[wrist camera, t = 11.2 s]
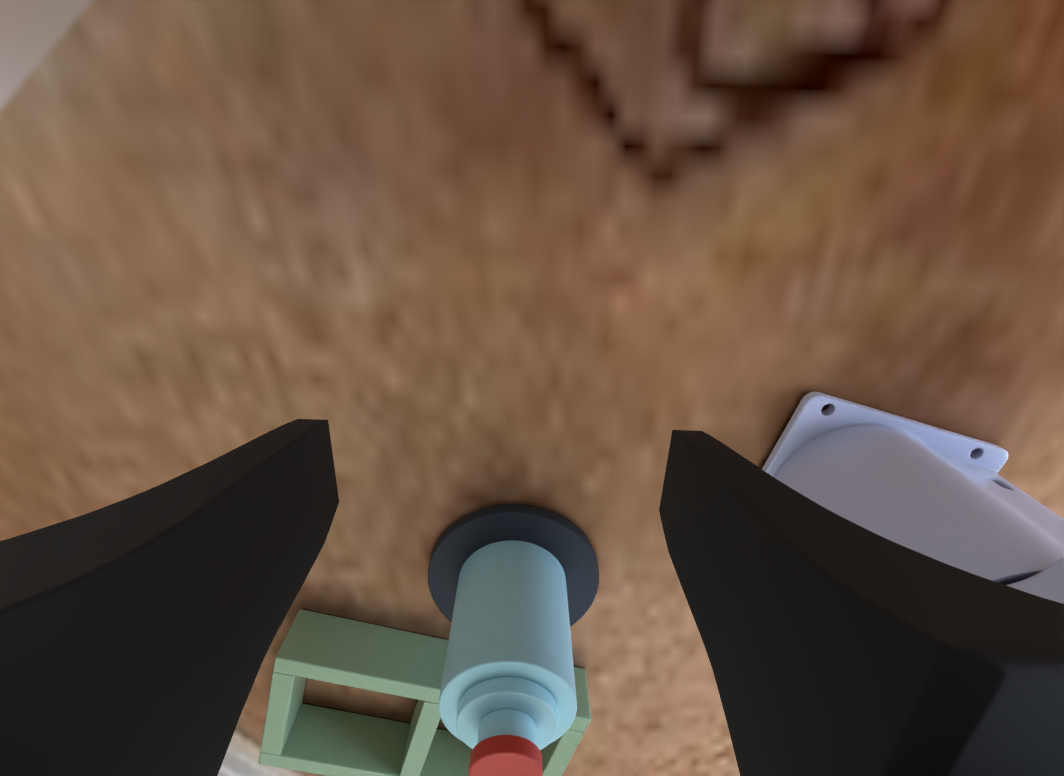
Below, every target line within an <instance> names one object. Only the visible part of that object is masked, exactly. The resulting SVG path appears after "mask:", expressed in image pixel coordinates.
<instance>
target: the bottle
mask: <svg viewBox="0 0 1064 776" xmlns="http://www.w3.org/2000/svg"><path fill="white" fill-rule="evenodd" d="M576 711H577V699H576V688H575V677H574V665H573V654H572V643H571V632H570V621H569V609H568V598H567V587H566V578H565V573H564V570H563V568H562V566H561V564H560V563H559V561H558V560H557V559H556V558H555V557H554V556H553V555H552V554H551V553H550V552H548V551H547V550H545V549H544V548H542V547H540V546H538V545H535V544H532V543H529V542H524V541H515V540H509V541H499V542H495V543H491V544H489V545H486V546H484V547H482V548H480V549H478V550H477V551H475V552H474V553H473V554H472V555H471V556H470V557H469V558H468V559H467V560H466V561H465V563H464V564H463V566H462V568H461V571H460V574H459V579H458V586H457V592H456V598H455V604H454V610H453V616H452V623H451V629H450V635H449V641H448V647H447V654H446V660H445V666H444V672H443V678H442V684H441V691H440V697H439V713H440V717H441V719H442V721H443V723H444V725H445V727H446V728H447V729H448V730H449V731H450V732H451V733H452V734H453V735H454V736H455V737H456V738H458V739H459V740H461V741H463V742H464V743H465V744H466V745H467V746H469V747H470V748H472V749H473V750H472V752H471V754H470V762H469V772H468V774H469V776H542V775H543V770H542V754H541V752H540V750H542V749H543V748H545V747H546V746H547V745H548V744H550V743H552V742H554V741H555V740H557V739H558V738H560V737H561V736H562V735H563V734H564V733H565V732H566V731H567V730H568V729H569V728H570V726H571V725H572V723H573V721H574V718H575V716H576Z"/></svg>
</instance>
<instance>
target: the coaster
mask: <svg viewBox="0 0 1064 776" xmlns="http://www.w3.org/2000/svg"><path fill="white" fill-rule="evenodd" d="M509 540H515V541H524V542H529V543H532V544H535V545H538V546H540V547H542V548H544V549H545V550H547V551H548V552H550V553H551V554H552V555H553V556H554V557H555V558H556V559H557V560H558V561H559V563H560V564H561V566H562V568H563V570H564V573H565V578H566V587H567V598H568V609H569V621H570V626H572V625H573V624H574V623H576V622H577V621H578V620H579V619H580V618H581V617H582V616H583V615H584V614H585V613H586V611H587V610H588V609H589V607H590V606H591V604H592V602H593V600H594V598H595V595H596V593H597V589H598V584H599V572H598V565H597V559H596V556H595V553H594V550H593V548H592V546H591V544H590V542H589V541H588V539H587V538H586V537H585V535H584V534H583V533H582V532H581V531H580V530H579V529H578V528H577V527H576V526H575V525H573V524H572V523H571V522H570V521H568V520H567V519H565V518H563V517H561V516H560V515H558V514H555V513H553V512H551V511H548V510H545V509H541V508H538V507H533V506H527V505H500V506H493V507H489V508H485V509H481V510H479V511H476V512H473V513H471V514H469V515H467V516H465V517H463V518H461V519H460V520H459V521H457V522H456V523H454V524H453V525H452V526H451V527H450V528H449V529H448V530H446V531H445V533H444V534H443V535H442V536H441V538H440V539H439V541H438V542H437V544H436V546H435V548H434V550H433V553H432V556H431V560H430V565H429V570H428V583H429V589H430V592H431V595H432V598H433V600H434V602H435V604H436V605H437V607H438V608H439V609H440V611H441V612H442V613H443V614H444V615H445V616H446V618H447V619H449V620H450V621H451V622H452V616H453V610H454V604H455V598H456V592H457V586H458V579H459V574H460V571H461V568H462V566H463V564H464V563H465V561H466V560H467V559H468V558H469V557H470V556H471V555H472V554H473V553H474V552H475V551H477V550H478V549H480V548H482V547H484V546H486V545H489V544H491V543H495V542H499V541H509Z"/></svg>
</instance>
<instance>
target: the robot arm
mask: <svg viewBox="0 0 1064 776" xmlns="http://www.w3.org/2000/svg"><path fill="white" fill-rule="evenodd" d="M827 404H830V405H829V407H828V408H827V410H825V411H821V410H822V408H823V407H824V405H827ZM974 449H975V450H974ZM973 450H974V451H973ZM972 451H973V452H972ZM971 452H972V453H971ZM1007 459H1008V452H1007V451H1006V450H1004V449H1003V448H1001V447H1000V446H998V445H995V444H991V443H988V442H985V441H981V440H978V439H975V438H971V437H968V436H965V435H961V434H958V433H955V432H951V431H948V430H945V429H941V428H938V427H934V426H931V425H928V424H924V423H921V422H918V421H914V420H911V419H908V418H904V417H901V416H898V415H894V414H891V413H888V412H884V411H881V410H878V409H874V408H871V407H868V406H864V405H861V404H858V403H854V402H851V401H847V400H844V399H841V398H837V397H834V396H831V395H827V394H824V393H821V392H810V393H808V394H807V395H805V396H804V397H803V398H802V400H801V401H800V403H799V405H798V407H797V408H796V410H795V412H794V414H793V415H792V417H791V419H790V421H789V422H788V424H787V426H786V428H785V429H784V431H783V433H782V435H781V436H780V438H779V440H778V442H777V444H776V445H775V447H774V449H773V451H772V452H771V454H770V456H769V458H768V459H767V461H766V463H765V465H764V466H763V468H762V469H760V468H759V467H757V466H756V465H754V464H753V463H751V462H750V461H748V460H747V459H745V458H744V457H742V456H741V455H739V454H738V453H736V452H735V451H733V450H732V449H730V448H729V447H727V446H726V445H724V444H723V443H721V442H720V441H718V440H717V439H715V438H713V437H712V436H710V435H708V434H706V433H704V432H703V431H686V430H672V436H671V442H670V448H669V454H668V460H667V466H666V472H665V478H664V484H663V491H662V497H661V503H660V509H659V511H660V516H661V520H662V525H663V530H664V534H665V538H666V542H667V547H668V551H669V554H670V556H671V559H672V562H673V565H674V567H675V570H676V572H677V575H678V578H679V580H680V583H681V586H682V588H683V591H684V593H685V596H686V599H687V601H688V604H689V606H690V609H691V612H692V614H693V617H694V619H695V622H696V625H697V627H698V630H699V632H700V635H701V637H702V640H703V643H704V645H705V648H706V651H707V654H708V657H709V660H710V663H711V666H712V669H713V672H714V676H715V679H716V683H717V687H718V690H719V694H720V698H721V701H722V705H723V709H724V712H725V716H726V720H727V724H728V728H729V732H730V736H731V740H732V744H733V748H734V752H735V756H736V760H737V764H738V768H739V772H740V776H1064V519H1063V518H1062V517H1060V516H1059V515H1057V514H1056V513H1054V512H1053V511H1051V510H1050V509H1048V508H1047V507H1045V506H1044V505H1043V504H1041V503H1040V502H1038V501H1037V500H1035V499H1034V498H1032V497H1031V496H1029V495H1028V494H1026V493H1025V492H1024V491H1022V490H1021V489H1019V488H1018V487H1016V486H1015V485H1013V484H1012V483H1010V482H1009V481H1007V480H1006V479H1005V478H1003V477H1002V476H1000V475H999V474H997V473H998V471H999V470H1000V469H1001V468H1002V466H1003V465H1004V464H1005V463H1006V461H1007ZM338 503H339V498H338V491H337V483H336V476H335V469H334V461H333V454H332V447H331V439H330V432H329V425H328V420H311V419H297V420H295V421H292V422H289V423H287V424H285V425H282V426H280V427H278V428H276V429H274V430H272V431H270V432H268V433H266V434H264V435H262V436H260V437H258V438H256V439H254V440H252V441H250V442H248V443H246V444H244V445H242V446H240V447H238V448H236V449H234V450H232V451H230V452H228V453H226V454H224V455H222V456H220V457H218V458H216V459H214V460H212V461H210V462H208V463H206V464H204V465H202V466H200V467H197V468H195V469H193V470H191V471H189V472H187V473H185V474H182V475H180V476H178V477H176V478H174V479H172V480H170V481H167V482H165V483H163V484H161V485H159V486H156V487H154V488H152V489H149V490H147V491H145V492H142V493H140V494H137V495H135V496H132V497H130V498H127V499H125V500H122V501H120V502H117V503H114V504H112V505H109V506H106V507H104V508H101V509H99V510H96V511H93V512H90V513H88V514H85V515H82V516H79V517H76V518H73V519H70V520H67V521H63V522H60V523H57V524H54V525H51V526H48V527H45V528H42V529H39V530H35V531H32V532H29V533H26V534H23V535H20V536H17V537H14V538H10V539H7V540H4V541H0V776H217V775H218V772H219V770H220V767H221V764H222V762H223V759H224V756H225V754H226V751H227V749H228V746H229V743H230V741H231V738H232V736H233V733H234V730H235V728H236V725H237V722H238V720H239V717H240V715H241V712H242V710H243V707H244V705H245V702H246V700H247V698H248V695H249V693H250V690H251V688H252V685H253V683H254V681H255V678H256V676H257V673H258V671H259V668H260V666H261V664H262V661H263V659H264V657H265V655H266V653H267V651H268V649H269V647H270V645H271V643H272V640H273V638H274V637H275V635H276V633H277V631H278V629H279V627H280V625H281V624H282V622H283V620H284V618H285V616H286V614H287V612H288V610H289V609H290V607H291V605H292V603H293V601H294V599H295V597H296V596H297V594H298V592H299V590H300V588H301V586H302V584H303V583H304V581H305V579H306V577H307V575H308V573H309V571H310V569H311V568H312V566H313V564H314V562H315V560H316V558H317V556H318V554H319V552H320V550H321V548H322V546H323V544H324V542H325V540H326V537H327V534H328V532H329V529H330V526H331V524H332V521H333V518H334V515H335V512H336V509H337V506H338Z"/></svg>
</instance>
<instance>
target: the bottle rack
mask: <svg viewBox="0 0 1064 776" xmlns="http://www.w3.org/2000/svg"><path fill="white" fill-rule="evenodd" d="M448 641H449V640H446V639H441V638H436V637H431V636H426V635H422V634H417V633H412V632H407V631H403V630H398V629H393V628H388V627H384V626H379V625H374V624H369V623H365V622H360V621H355V620H350V619H346V618H341V617H336V616H331V615H327V614H322V613H317V612H312V611H308V610H303V609H300V610H299V611H298V613H297V615H296V617H295V619H294V621H293V623H292V625H291V627H290V629H289V631H288V633H287V635H286V637H285V639H284V641H283V643H282V645H281V647H280V649H279V651H278V653H277V655H276V657H275V663H274V669H273V675H272V681H271V688H270V694H269V700H268V707H267V713H266V720H265V726H264V732H263V739H262V745H261V752H260V758H259V764H262V765H268V766H273V767H279V768H285V769H291V770H297V771H303V772H308V773H314V774H320V775H326V776H469V774H468V772H469V762H470V754H471V752H472V750H473V749H472V748H470V747H469V746H467V745H466V744H465V743H464V742H463V741H461V740H459V739H458V738H456V737H455V736H454V735H453V734H452V733H451V732H450V731H447V730H442V729H437V726H438V723H439V721H440V718H441V717H440V713H439V697H440V691H441V684H442V678H443V672H444V666H445V660H446V654H447V647H448ZM574 677H575V688H576V699H577V711H576V716H575V718H574V721H573V723H572V725H571V726H570V728H569V729H568V730H567V731H566V732H565V733H564V734H563V735H562V736H561V737H560V738H558V739H557V740H555V741H554V742H552V743H550V744H548V745H547V746H546V747H545V748H543V749H542V750H540V752H541V754H542V770H543V775H542V776H561V775H562V773H563V771H564V770H565V768H566V766H567V764H568V762H569V760H570V758H571V757H572V755H573V753H574V751H575V749H576V747H577V745H578V744H579V742H580V740H581V738H582V736H583V734H584V731H585V730H586V728H587V726H588V725H589V723H590V721H591V715H590V706H589V697H588V688H587V679H586V670H585V669H583V668H579V667H574ZM307 678H309V679H314V680H319V681H324V682H330V683H335V684H340V685H345V686H350V687H355V688H360V689H366V690H371V691H376V692H381V693H386V694H391V695H396V696H402V697H407V698H412V699H417V700H418V701H417V704H416V707H415V710H414V713H413V716H412V719H411V722H410V723H404V722H399V721H394V720H388V719H383V718H378V717H372V716H367V715H362V714H356V713H351V712H346V711H340V710H335V709H330V708H324V707H319V706H314V705H308V704H303V703H302V700H303V695H304V690H305V684H306V679H307Z"/></svg>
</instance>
